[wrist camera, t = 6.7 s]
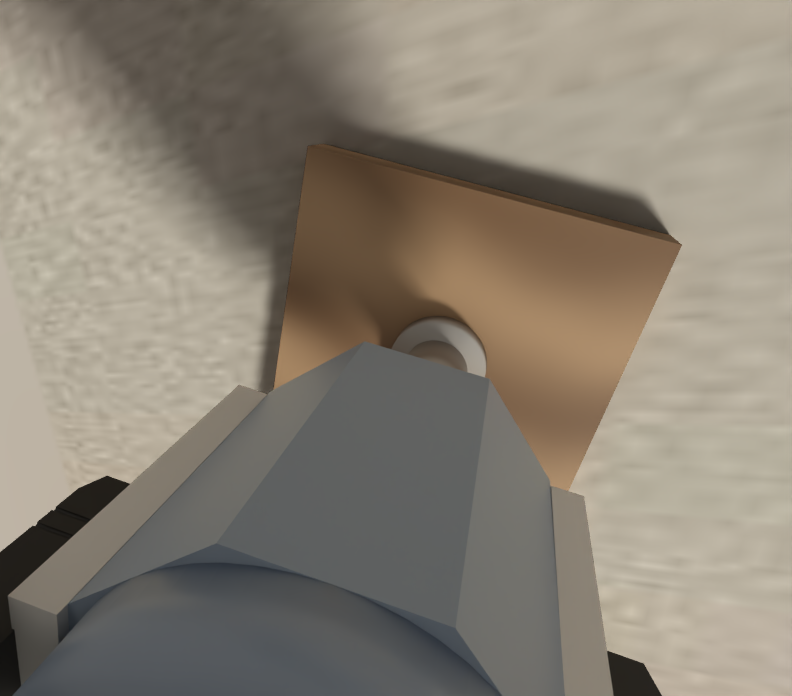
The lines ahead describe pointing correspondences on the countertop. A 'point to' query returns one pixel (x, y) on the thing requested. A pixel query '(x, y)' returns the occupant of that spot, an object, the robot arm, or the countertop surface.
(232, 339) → the countertop surface
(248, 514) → the cap
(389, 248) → the brown wooden square board
